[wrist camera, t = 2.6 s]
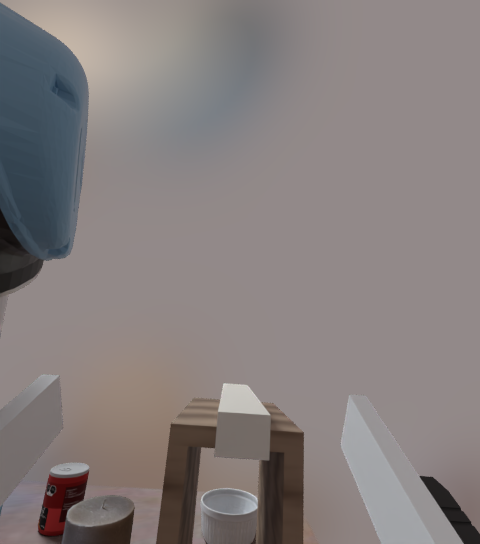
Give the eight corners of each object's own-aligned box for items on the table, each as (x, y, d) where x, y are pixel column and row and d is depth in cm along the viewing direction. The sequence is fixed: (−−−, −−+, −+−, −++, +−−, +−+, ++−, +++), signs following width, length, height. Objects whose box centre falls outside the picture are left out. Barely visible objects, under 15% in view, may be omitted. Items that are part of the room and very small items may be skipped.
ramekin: (235, 516, 72) (237, 483, 74) (271, 544, 62) (272, 506, 64) (187, 530, 65) (190, 493, 67) (219, 565, 55) (222, 520, 57)
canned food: (45, 518, 66) (57, 462, 69) (83, 517, 67) (93, 462, 71) (29, 537, 59) (44, 474, 62) (72, 536, 60) (84, 474, 63)
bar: (269, 460, 21) (270, 415, 22) (214, 456, 21) (217, 411, 22) (246, 404, 48) (247, 385, 49) (222, 402, 48) (223, 383, 49)
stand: (302, 873, 22) (303, 432, 31) (116, 866, 22) (171, 423, 31) (266, 623, 43) (273, 403, 52) (171, 618, 43) (194, 397, 52)
